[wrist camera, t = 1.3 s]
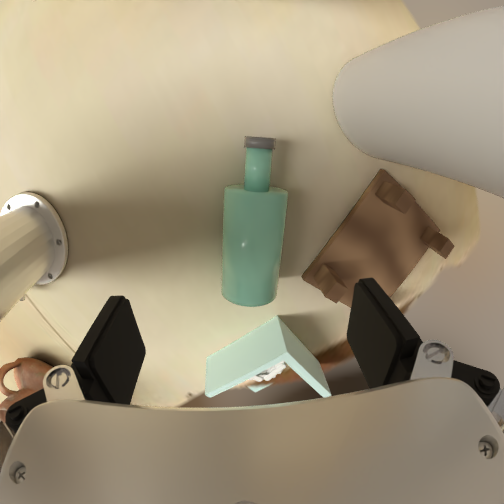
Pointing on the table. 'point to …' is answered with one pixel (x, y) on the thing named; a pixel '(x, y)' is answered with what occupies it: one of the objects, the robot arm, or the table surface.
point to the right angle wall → (262, 360)
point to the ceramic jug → (22, 380)
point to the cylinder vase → (432, 100)
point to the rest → (376, 242)
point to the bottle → (253, 230)
